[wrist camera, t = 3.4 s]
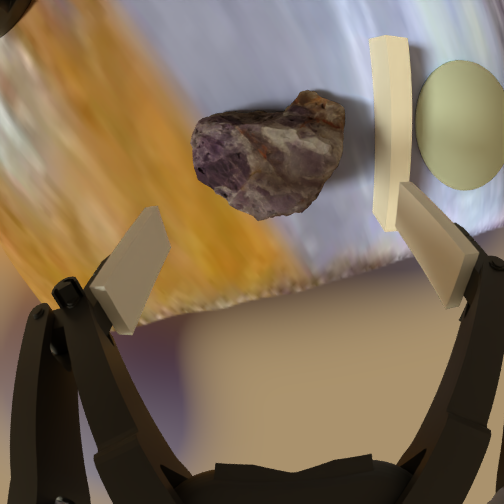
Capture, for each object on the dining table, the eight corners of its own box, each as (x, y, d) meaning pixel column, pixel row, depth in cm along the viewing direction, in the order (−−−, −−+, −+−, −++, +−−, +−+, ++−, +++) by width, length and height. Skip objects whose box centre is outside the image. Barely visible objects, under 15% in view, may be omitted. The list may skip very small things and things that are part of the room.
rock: (212, 96, 24) (225, 192, 29) (171, 107, 17) (195, 235, 22) (341, 90, 21) (341, 193, 27) (355, 95, 14) (350, 239, 20)
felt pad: (411, 189, 27) (413, 191, 26) (411, 49, 18) (414, 48, 17) (501, 188, 25) (503, 190, 24) (510, 75, 16) (513, 76, 16)
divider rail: (372, 212, 28) (384, 231, 25) (368, 39, 18) (385, 35, 15) (389, 210, 28) (402, 230, 25) (388, 41, 18) (407, 38, 15)
